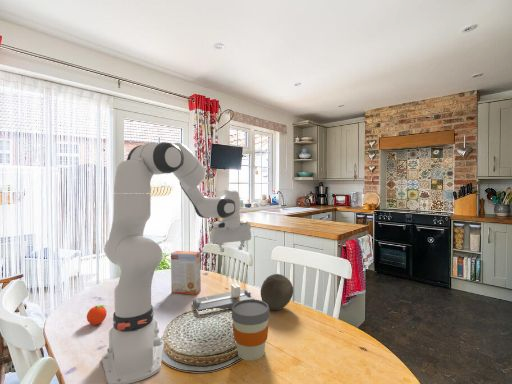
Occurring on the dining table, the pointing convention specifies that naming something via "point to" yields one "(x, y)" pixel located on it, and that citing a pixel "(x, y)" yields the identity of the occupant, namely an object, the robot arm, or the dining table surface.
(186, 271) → the cracker box
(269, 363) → the dining table surface
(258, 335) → the reusable coffee cup
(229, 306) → the console
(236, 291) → the fader
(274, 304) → the dark grey stone
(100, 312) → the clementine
